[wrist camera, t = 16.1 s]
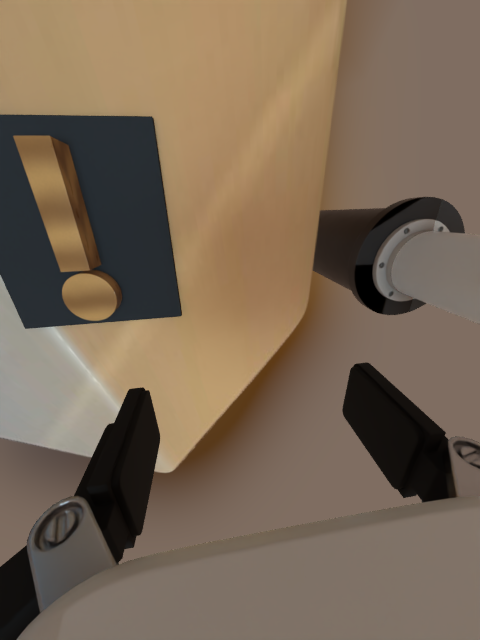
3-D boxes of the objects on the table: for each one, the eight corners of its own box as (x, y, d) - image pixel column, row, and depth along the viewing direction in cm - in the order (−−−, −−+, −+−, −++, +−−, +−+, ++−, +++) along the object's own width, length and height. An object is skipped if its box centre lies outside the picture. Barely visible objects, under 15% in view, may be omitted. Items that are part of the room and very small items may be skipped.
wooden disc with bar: (19, 145, 23) (-7, 135, 20) (84, 145, 24) (67, 135, 21) (79, 316, 31) (66, 327, 28) (126, 312, 31) (118, 322, 29)
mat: (153, 118, 24) (152, 116, 24) (181, 314, 33) (181, 316, 33) (-68, 116, 22) (-75, 113, 21) (28, 326, 31) (25, 328, 30)
